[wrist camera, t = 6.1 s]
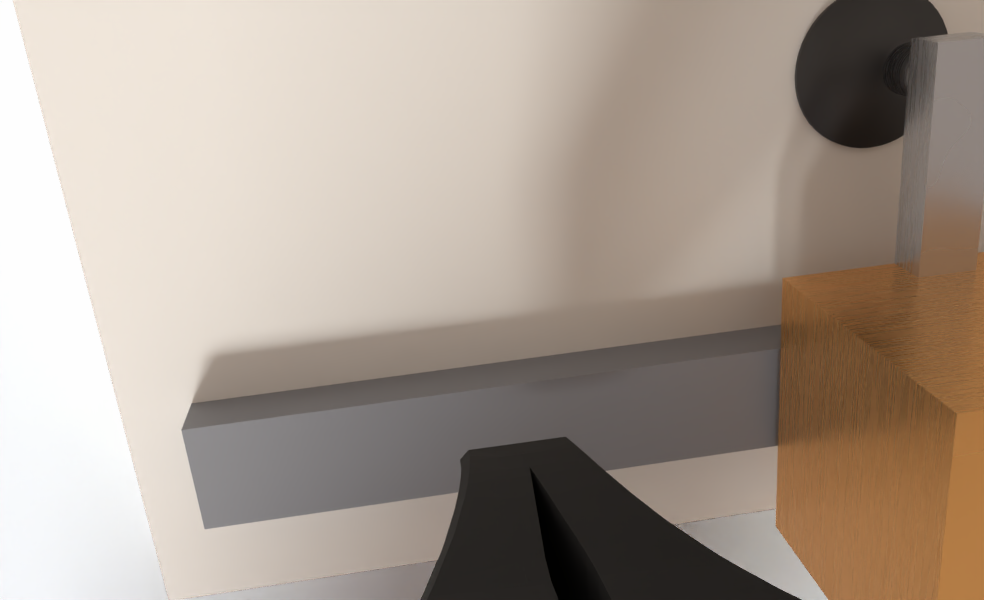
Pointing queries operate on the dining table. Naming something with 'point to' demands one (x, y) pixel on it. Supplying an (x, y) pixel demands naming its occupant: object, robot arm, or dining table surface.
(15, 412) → the dining table surface
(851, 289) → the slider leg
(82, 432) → the dining table surface
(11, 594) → the dining table surface
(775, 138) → the pitch plate
